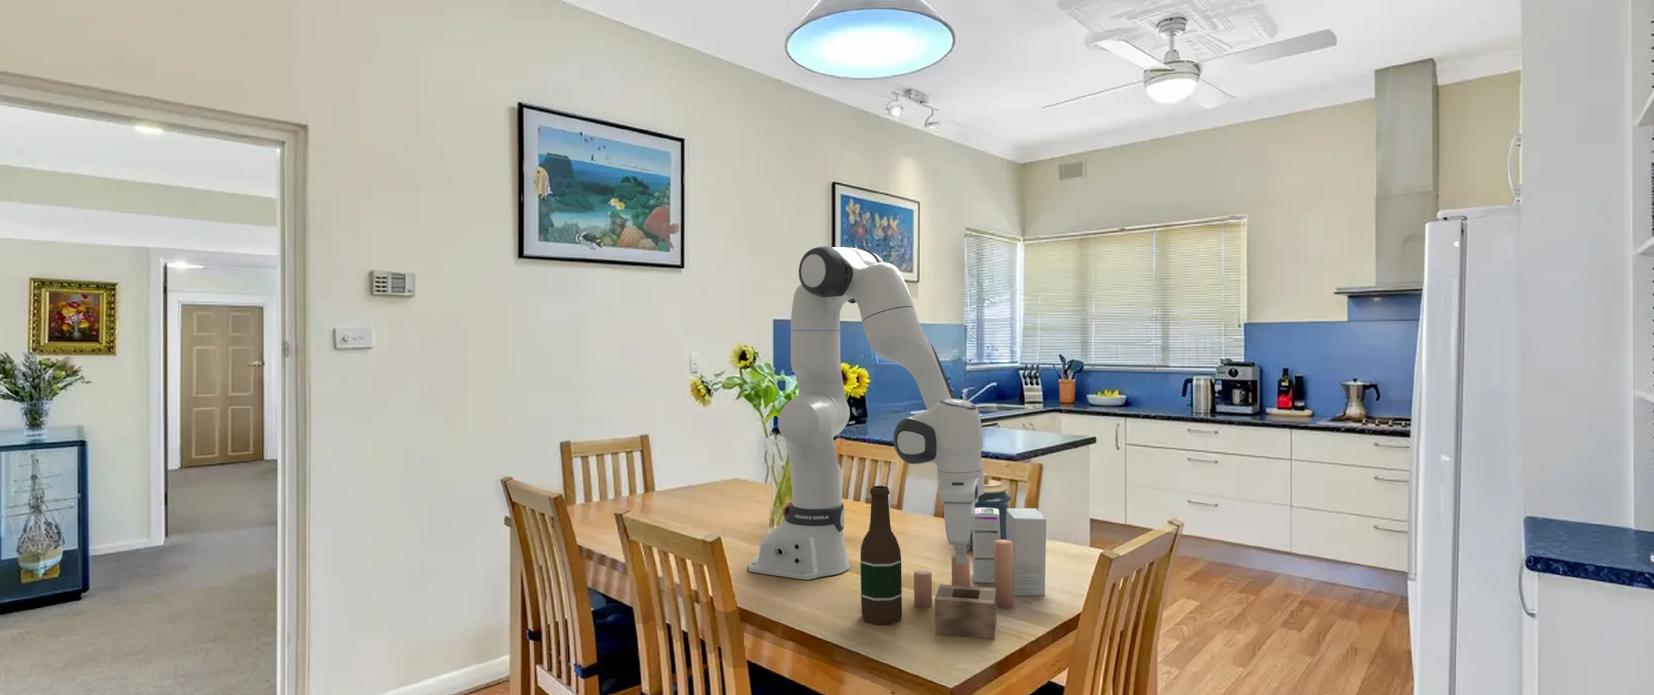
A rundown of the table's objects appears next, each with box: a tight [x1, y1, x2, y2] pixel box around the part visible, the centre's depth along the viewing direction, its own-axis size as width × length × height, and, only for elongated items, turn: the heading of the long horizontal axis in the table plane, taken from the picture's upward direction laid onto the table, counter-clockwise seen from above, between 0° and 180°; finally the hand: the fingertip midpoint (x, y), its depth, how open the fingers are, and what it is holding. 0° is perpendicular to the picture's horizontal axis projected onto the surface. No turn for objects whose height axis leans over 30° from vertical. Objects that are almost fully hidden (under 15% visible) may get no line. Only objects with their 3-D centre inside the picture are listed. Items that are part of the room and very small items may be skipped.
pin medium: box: [950, 554, 971, 587], centre depth 146 cm, size 3×3×9 cm
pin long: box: [994, 540, 1014, 609], centre depth 145 cm, size 3×3×12 cm
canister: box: [969, 472, 1012, 551], centre depth 186 cm, size 13×13×18 cm
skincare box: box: [1006, 507, 1047, 597], centre depth 153 cm, size 8×7×16 cm
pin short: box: [913, 569, 933, 608], centre depth 146 cm, size 3×3×6 cm
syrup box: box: [972, 508, 1001, 584], centre depth 160 cm, size 6×6×14 cm
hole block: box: [934, 584, 997, 640], centre depth 134 cm, size 10×8×6 cm
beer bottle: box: [859, 485, 903, 626], centre depth 139 cm, size 8×8×24 cm
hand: (963, 556), depth 145 cm, fingers open, 8 cm apart
